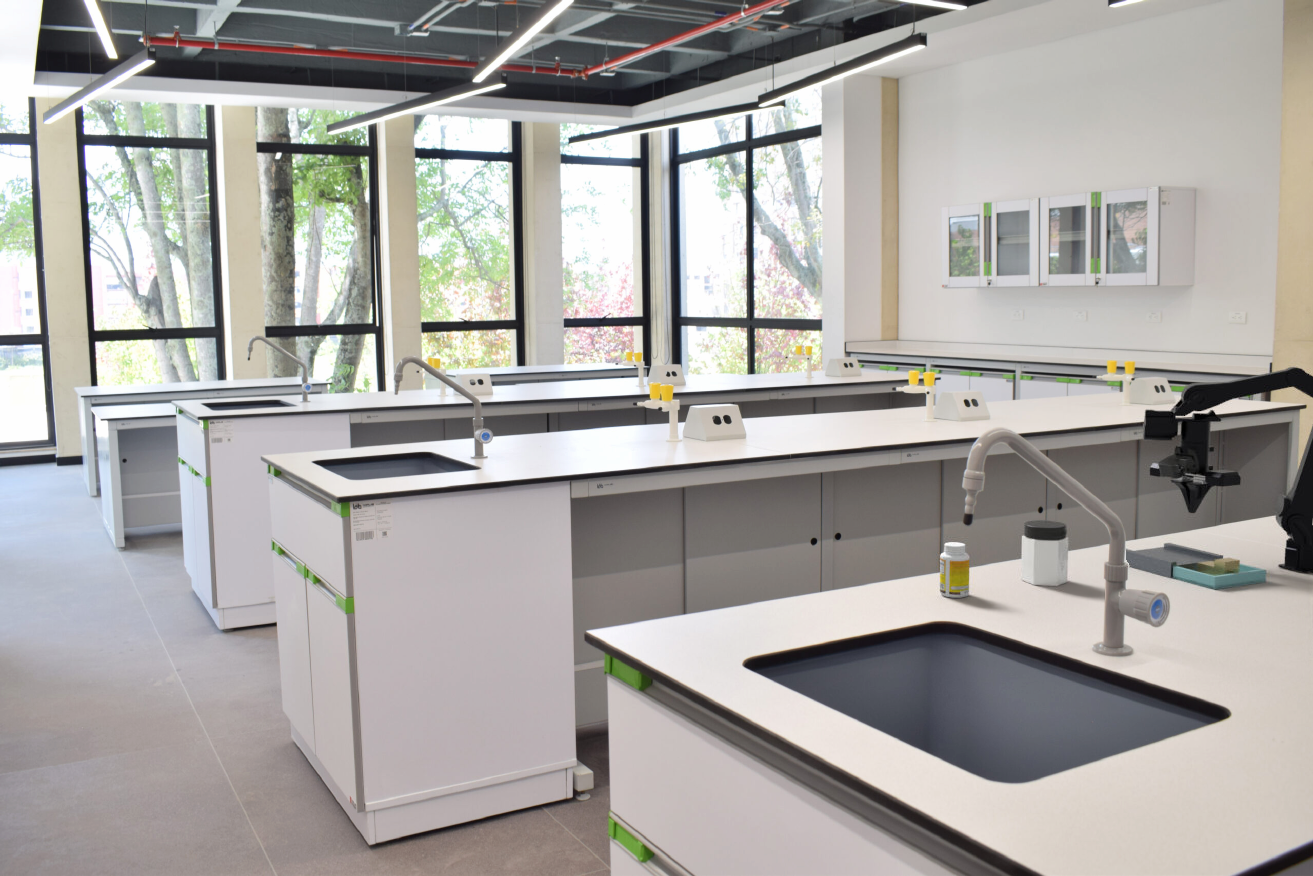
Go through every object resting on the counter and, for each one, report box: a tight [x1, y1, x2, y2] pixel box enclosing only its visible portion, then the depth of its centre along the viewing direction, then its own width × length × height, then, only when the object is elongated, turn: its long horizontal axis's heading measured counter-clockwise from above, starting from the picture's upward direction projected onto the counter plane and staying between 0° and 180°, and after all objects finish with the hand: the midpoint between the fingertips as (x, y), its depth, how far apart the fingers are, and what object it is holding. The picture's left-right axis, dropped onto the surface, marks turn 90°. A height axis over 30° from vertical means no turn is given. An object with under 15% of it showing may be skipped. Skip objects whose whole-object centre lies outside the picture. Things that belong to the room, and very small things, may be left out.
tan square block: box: [1197, 561, 1214, 576], centre depth 214 cm, size 4×4×2 cm
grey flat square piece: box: [1125, 542, 1224, 579], centre depth 224 cm, size 14×14×3 cm
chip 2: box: [1214, 557, 1241, 576], centre depth 211 cm, size 4×4×2 cm
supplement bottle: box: [939, 541, 970, 599], centre depth 205 cm, size 6×6×10 cm
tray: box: [1172, 563, 1267, 591], centre depth 213 cm, size 14×10×2 cm
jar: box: [1020, 519, 1069, 587], centre depth 214 cm, size 9×8×12 cm
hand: (1192, 512), depth 227 cm, fingers closed
